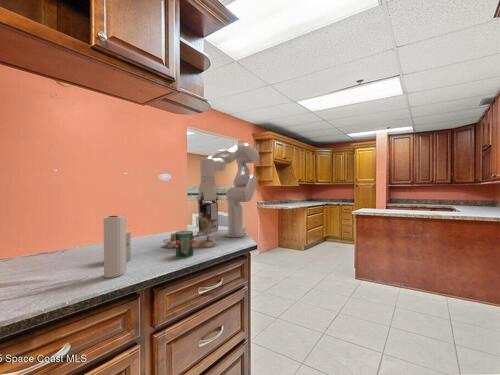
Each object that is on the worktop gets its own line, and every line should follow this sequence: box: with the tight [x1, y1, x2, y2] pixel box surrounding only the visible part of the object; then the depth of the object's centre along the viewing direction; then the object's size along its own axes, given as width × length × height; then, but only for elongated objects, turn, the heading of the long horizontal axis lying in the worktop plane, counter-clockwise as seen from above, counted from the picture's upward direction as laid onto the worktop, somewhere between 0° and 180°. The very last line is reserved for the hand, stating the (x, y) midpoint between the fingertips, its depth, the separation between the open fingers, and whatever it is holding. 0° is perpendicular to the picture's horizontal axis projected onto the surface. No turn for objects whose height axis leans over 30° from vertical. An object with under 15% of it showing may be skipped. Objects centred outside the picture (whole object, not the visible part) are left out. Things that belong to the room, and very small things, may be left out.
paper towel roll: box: [103, 215, 127, 279], centre depth 89 cm, size 7×6×21 cm
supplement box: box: [126, 230, 132, 262], centre depth 106 cm, size 7×7×13 cm
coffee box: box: [197, 202, 219, 233], centre depth 135 cm, size 9×6×16 cm
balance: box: [162, 230, 220, 249], centre depth 134 cm, size 30×12×7 cm, turn 94°
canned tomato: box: [175, 230, 194, 259], centre depth 113 cm, size 8×8×11 cm
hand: (208, 211), depth 135 cm, fingers open, 9 cm apart
